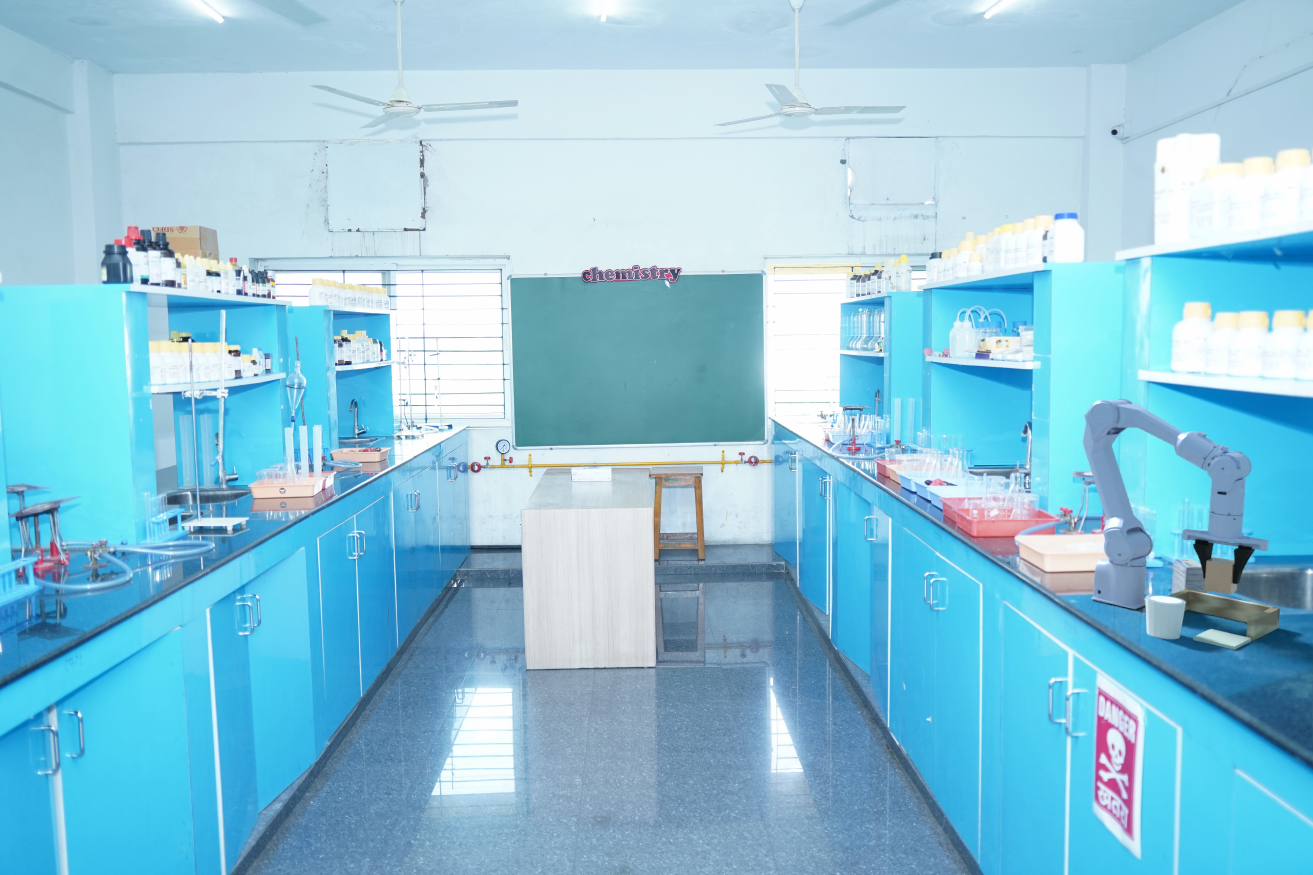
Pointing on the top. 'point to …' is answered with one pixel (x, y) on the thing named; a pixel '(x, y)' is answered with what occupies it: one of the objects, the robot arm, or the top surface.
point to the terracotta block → (1220, 576)
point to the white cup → (1164, 616)
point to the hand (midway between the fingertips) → (1221, 580)
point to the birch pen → (1233, 611)
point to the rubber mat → (1222, 639)
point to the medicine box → (1187, 576)
